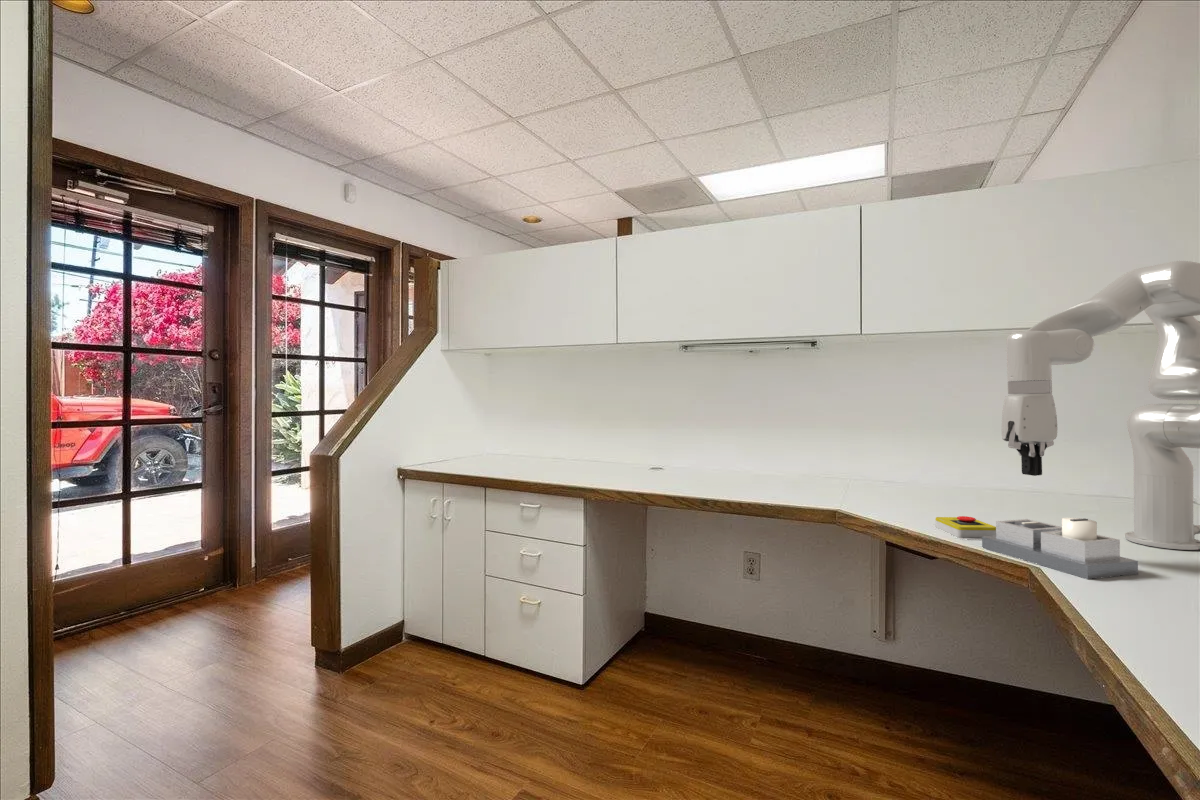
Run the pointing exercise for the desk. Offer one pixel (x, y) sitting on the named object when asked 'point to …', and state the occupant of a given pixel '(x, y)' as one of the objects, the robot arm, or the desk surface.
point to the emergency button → (965, 527)
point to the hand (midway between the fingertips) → (1031, 474)
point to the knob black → (1030, 524)
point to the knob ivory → (1079, 528)
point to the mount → (1060, 550)
